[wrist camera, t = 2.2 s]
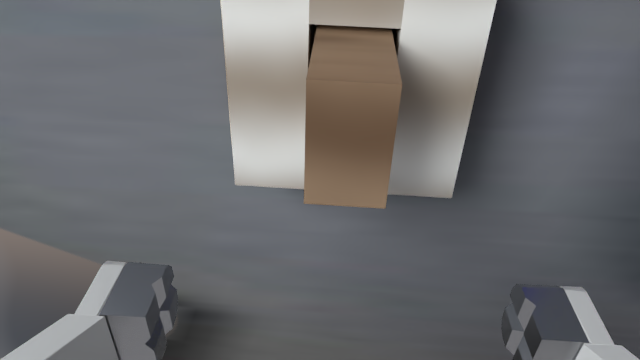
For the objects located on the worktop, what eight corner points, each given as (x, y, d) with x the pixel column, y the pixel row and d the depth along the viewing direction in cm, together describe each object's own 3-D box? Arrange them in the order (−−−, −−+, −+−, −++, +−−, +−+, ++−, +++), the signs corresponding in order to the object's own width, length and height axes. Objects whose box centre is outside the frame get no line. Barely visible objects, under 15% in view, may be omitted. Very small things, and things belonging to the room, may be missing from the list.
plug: (376, 106, 27) (385, 208, 19) (317, 103, 27) (303, 203, 20) (387, 8, 24) (402, 84, 17) (321, 5, 24) (306, 79, 17)
